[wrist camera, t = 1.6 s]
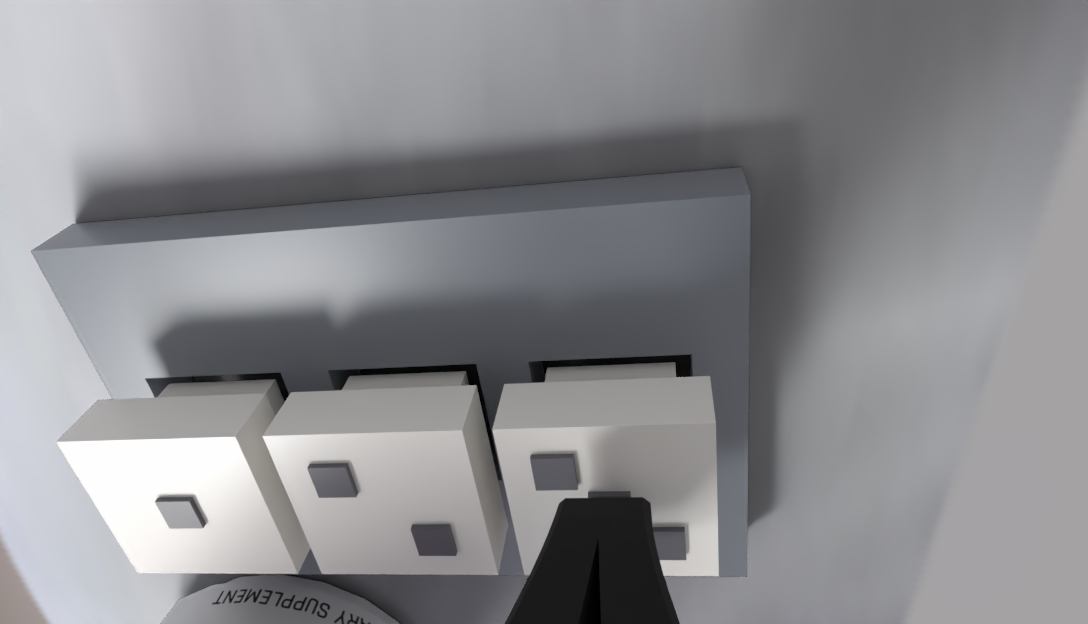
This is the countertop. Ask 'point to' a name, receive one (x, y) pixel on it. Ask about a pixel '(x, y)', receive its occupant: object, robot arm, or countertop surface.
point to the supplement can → (275, 604)
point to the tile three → (614, 454)
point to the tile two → (392, 475)
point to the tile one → (190, 479)
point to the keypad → (432, 296)
